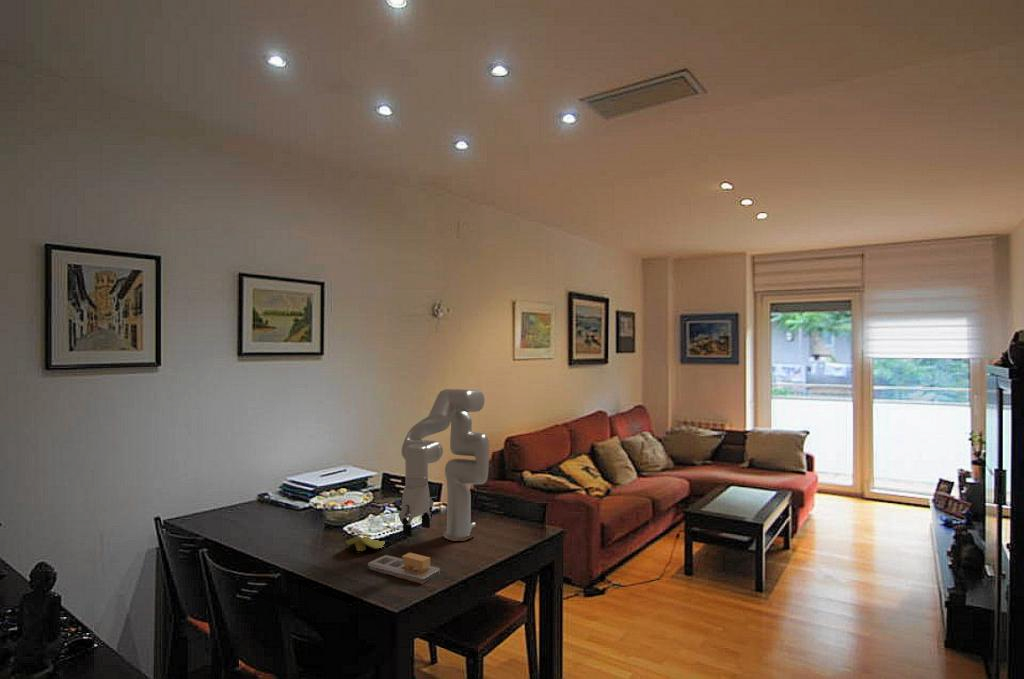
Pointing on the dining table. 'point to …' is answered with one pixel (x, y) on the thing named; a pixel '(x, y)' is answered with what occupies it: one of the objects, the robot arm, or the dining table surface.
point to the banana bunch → (366, 542)
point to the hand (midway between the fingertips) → (416, 531)
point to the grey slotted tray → (400, 567)
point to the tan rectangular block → (416, 562)
